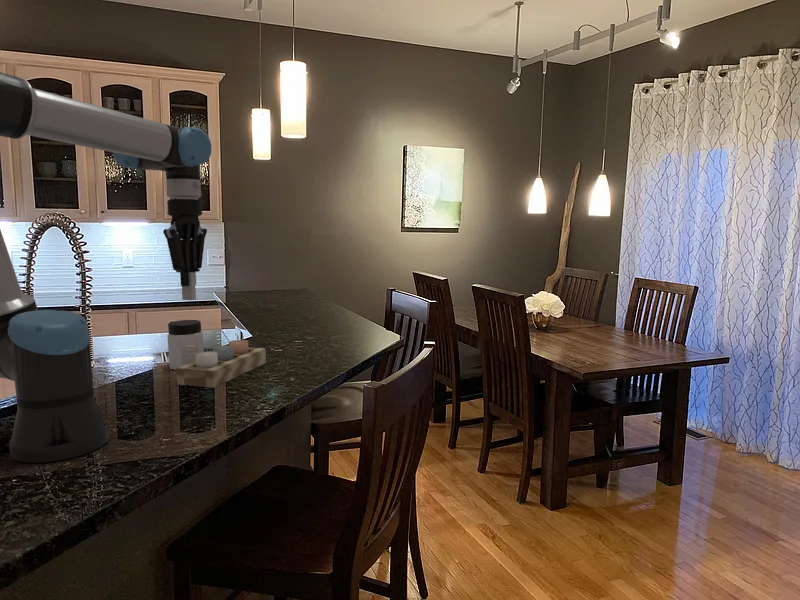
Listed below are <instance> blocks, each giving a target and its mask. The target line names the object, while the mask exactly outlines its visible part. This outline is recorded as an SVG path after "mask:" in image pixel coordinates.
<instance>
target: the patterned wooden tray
mask: <svg viewBox="0 0 800 600" xmlns="http://www.w3.org/2000/svg"><path fill="white" fill-rule="evenodd" d="M248 347H249V346H248ZM266 352H267V351H266V348H264V347H263V348H262V347H249V352H248V353H246V354H244V355H238V354H234V359H232V360H229V361H218V365H217V366H215V367H212V368H199V367H196V361H194V362H191V363H189V364H186V365H183V366H181V367H178V368H176V370H175V371H176V373H175V374H176V383H177V385H179V386H187V385H189V386H190V387H200V388H209V389H210V388H217V387H218V386H220V385H223V384H224V383H227V382H229V381H230V380H233V379H235V378H238V377H240V376H241V375H244V374H246V373H248V372H251V371H253V370H254V369H256V368H258V367H261V366H263V365H265V364H267V357H266V355H267V354H266Z"/></svg>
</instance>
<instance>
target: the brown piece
mask: <svg viewBox="0 0 800 600" xmlns="http://www.w3.org/2000/svg"><path fill="white" fill-rule="evenodd" d="M228 346H233V349H234V354H238V355H244V354H246V353H248V352H249V340H247V339H234V340H230V341H228Z"/></svg>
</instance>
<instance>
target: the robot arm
mask: <svg viewBox="0 0 800 600" xmlns="http://www.w3.org/2000/svg"><path fill="white" fill-rule="evenodd" d="M25 136H32V137H35V138H40V139H46V140H50V141H56V142H60V143H66V144H70V145H75V146H80V147H86V148H90V149H95V150H101V151H105V152H110V153H112V155H113V158H114V161H115V162H116V164H117V165H118V166H120V167H121V168H124V169H125V168H127V169H132V170H145V171H146V170H147V171H160V172H165V183H166V189H165V190H166V197H167V198H169V199H168V200H167V203H166V204H167V215H168V216H171V221H170V226H169V227H168V228H165V229H163V232H162V233H163V235H164V237H165V238H166V242H167V246H168V252H169V255H170V261H171V265H172V270H173V271H175V272H176V273H179V275H180V277H179V278H180V285H181V296H182V301H196V300H197V291H196V284H197V281H196V280H197V274H196V273H199V272H200V271H201V269H202V266H203V265H202V264H203V259H204V248H205V240H206V239H205V238H206V236H207V233H208V230H207V228H203V227H201V222H200V220H199V217H201V216H202V215H203V204H202V203H203V202H202V200H201V199H199V198H201V197H202V189H201V166H202V165H204V164H206V163H207V162H208V161H209V160H210V158H211V156H212V150H213V149H212V143H211V140H210V137H209V135H208V134H207V133H206V132H205V130H203V129H201V128H199V127H195V126H194V127H191V126H186V127H183V128H182V127H177V126H174V125H170V124H166V123H161V122H158V121H154V120H150V119H146V118H143V117H140V116H136V115H133V114H129V113H125V112H121V111H118V110H115V109H110V108H107V107H103V106H99V105H96V104H92V103H88V102H85V101H81V100H77V99H74V98H70V97H67V96H63V95H59V94H56V93H52V92H50V91H49V92H48V91H44V90H41V89H37V88H34V87H32V85H31V84H30V82H29V81H28V80H26V79H24V78H21V77H18V76H15V75H11V74H8V73H4V72H2V71H1V72H0V137H3V138H7V139H8V138H9V139H12V140H13V139H14V140H19V139H22V138H23V137H25ZM15 271H16V270H15V268H14V266H13V263H12V259H11V256H10V254H9V250H8V248H7V245H6V241H5V239H4V236H3V234H2V230H1V229H0V378H1V379H7V380H9V381H13V382H14V387H15V389H14V390H15V396H16V397H15V399H16V405H17V411H16V416H15V419H14V425H13V429H12V435H11V436H10V438H9V442H8V447H9V456H10V458H11V459H13V460H14V461H18V462H21V463H31V464H33V463H34V464H38V463H50V462H51V463H52V462H58V461H63V460H68V459H69V460H70V459H73V458H77V457H80V456H83V455H86V454H89V453H91V452H94V451H96V450H98V449H100V448H101V447H103V446H104V445H106V444H107V443H108V441H109V439H110V437H109V435H110V434H109V425H108V424H107V421H106V420H104V416H103V415H102V412H101V409H100V407H99V405H98V403H97V401H96V398H95V391H94V380H93V379H94V378H93V377H94V376H93V368H92V354H91V334H90V332H89V327H88V322H87V320H86V318H85V317H83V316H82V315H81V314H79V313H76V312H73V311H68V310H55V309H39V308H38V306H37V302H36V299H35V298H34V297H33V296H31V295H29V294H27V293H24V292H23V291H22V288H21V285H20V283H19V280H18V276H17V273H16V272H15Z"/></svg>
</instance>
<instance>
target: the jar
mask: <svg viewBox="0 0 800 600" xmlns="http://www.w3.org/2000/svg"><path fill="white" fill-rule="evenodd" d="M167 327H168V328H167V329H168V330H167V331H168V333H167V348H168V350H167V351H168V361H169V363H168V365H169V370H171V369H174V370H173V371H176V368H178V367H181V366H183V365H186V364H189V363H191V362H194V361H196V354H197V353H201V352H205V351H204V350H205V347H204V334H203V333H204V332H203V330H202V322H201V320H197V319H182V320H173V321H171V322H169V323H168V324H167Z"/></svg>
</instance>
